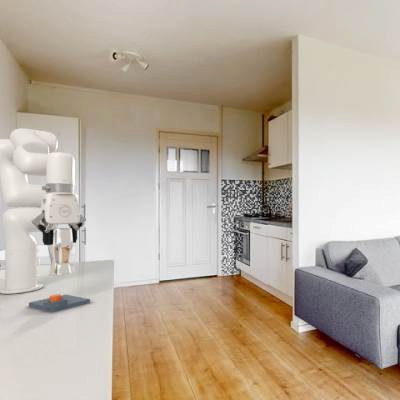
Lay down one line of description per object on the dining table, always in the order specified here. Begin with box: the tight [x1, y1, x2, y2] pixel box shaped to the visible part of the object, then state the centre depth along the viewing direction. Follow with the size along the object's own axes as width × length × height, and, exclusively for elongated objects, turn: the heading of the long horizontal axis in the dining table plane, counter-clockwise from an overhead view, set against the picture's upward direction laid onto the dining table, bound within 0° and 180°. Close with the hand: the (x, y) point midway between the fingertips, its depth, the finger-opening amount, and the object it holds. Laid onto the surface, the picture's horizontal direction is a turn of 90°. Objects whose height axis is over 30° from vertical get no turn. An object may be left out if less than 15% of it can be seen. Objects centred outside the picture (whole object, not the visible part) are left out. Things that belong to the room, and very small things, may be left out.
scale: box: [28, 294, 91, 313], centre depth 110 cm, size 14×12×3 cm
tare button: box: [49, 293, 63, 302], centre depth 105 cm, size 3×3×2 cm
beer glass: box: [47, 227, 74, 277], centre depth 113 cm, size 7×7×15 cm
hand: (60, 243), depth 113 cm, fingers closed on beer glass, 7 cm apart
